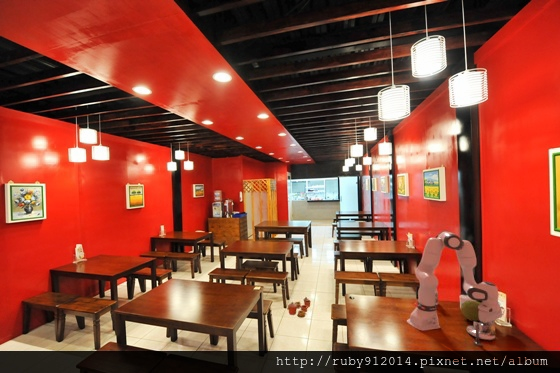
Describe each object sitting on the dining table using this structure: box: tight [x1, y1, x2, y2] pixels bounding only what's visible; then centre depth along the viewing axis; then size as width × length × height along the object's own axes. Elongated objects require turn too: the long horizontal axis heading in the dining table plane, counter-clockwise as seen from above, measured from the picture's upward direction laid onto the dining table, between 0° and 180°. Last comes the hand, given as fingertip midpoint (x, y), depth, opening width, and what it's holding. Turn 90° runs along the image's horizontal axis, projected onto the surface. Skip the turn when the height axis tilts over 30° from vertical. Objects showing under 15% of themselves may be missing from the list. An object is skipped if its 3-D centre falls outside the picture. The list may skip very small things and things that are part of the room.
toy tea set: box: [286, 296, 312, 319], centre depth 210 cm, size 26×16×10 cm, turn 157°
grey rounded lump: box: [478, 321, 491, 333], centre depth 170 cm, size 6×6×5 cm
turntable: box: [466, 324, 496, 341], centre depth 168 cm, size 15×15×7 cm
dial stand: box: [473, 321, 483, 347], centre depth 159 cm, size 4×4×13 cm
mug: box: [459, 294, 476, 309], centre depth 202 cm, size 12×8×10 cm
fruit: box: [460, 300, 481, 322], centre depth 186 cm, size 16×14×15 cm
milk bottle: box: [435, 287, 439, 306], centre depth 214 cm, size 8×8×20 cm
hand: (491, 325), depth 173 cm, fingers closed
